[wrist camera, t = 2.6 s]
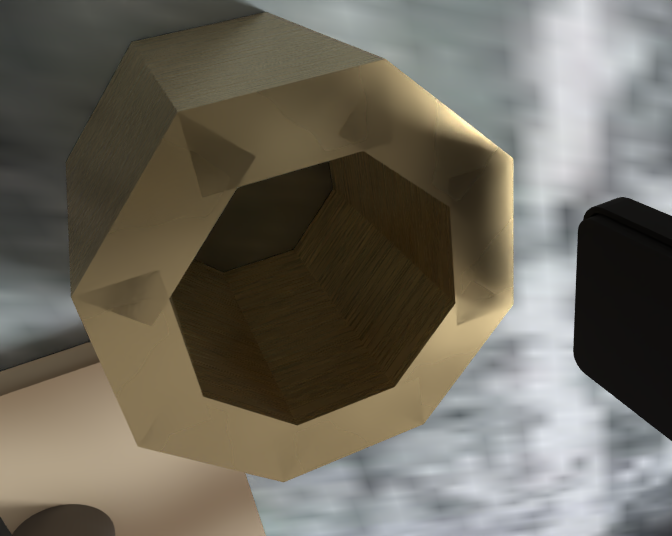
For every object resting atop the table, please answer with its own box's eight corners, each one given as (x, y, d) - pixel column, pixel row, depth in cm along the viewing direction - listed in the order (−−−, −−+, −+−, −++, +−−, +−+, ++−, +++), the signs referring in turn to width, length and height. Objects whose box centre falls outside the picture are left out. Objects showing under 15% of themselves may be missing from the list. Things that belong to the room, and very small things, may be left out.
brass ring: (27, 65, 12) (7, 155, 7) (353, -8, 14) (512, 26, 9) (138, 343, 16) (173, 527, 11) (386, 259, 18) (513, 386, 13)
